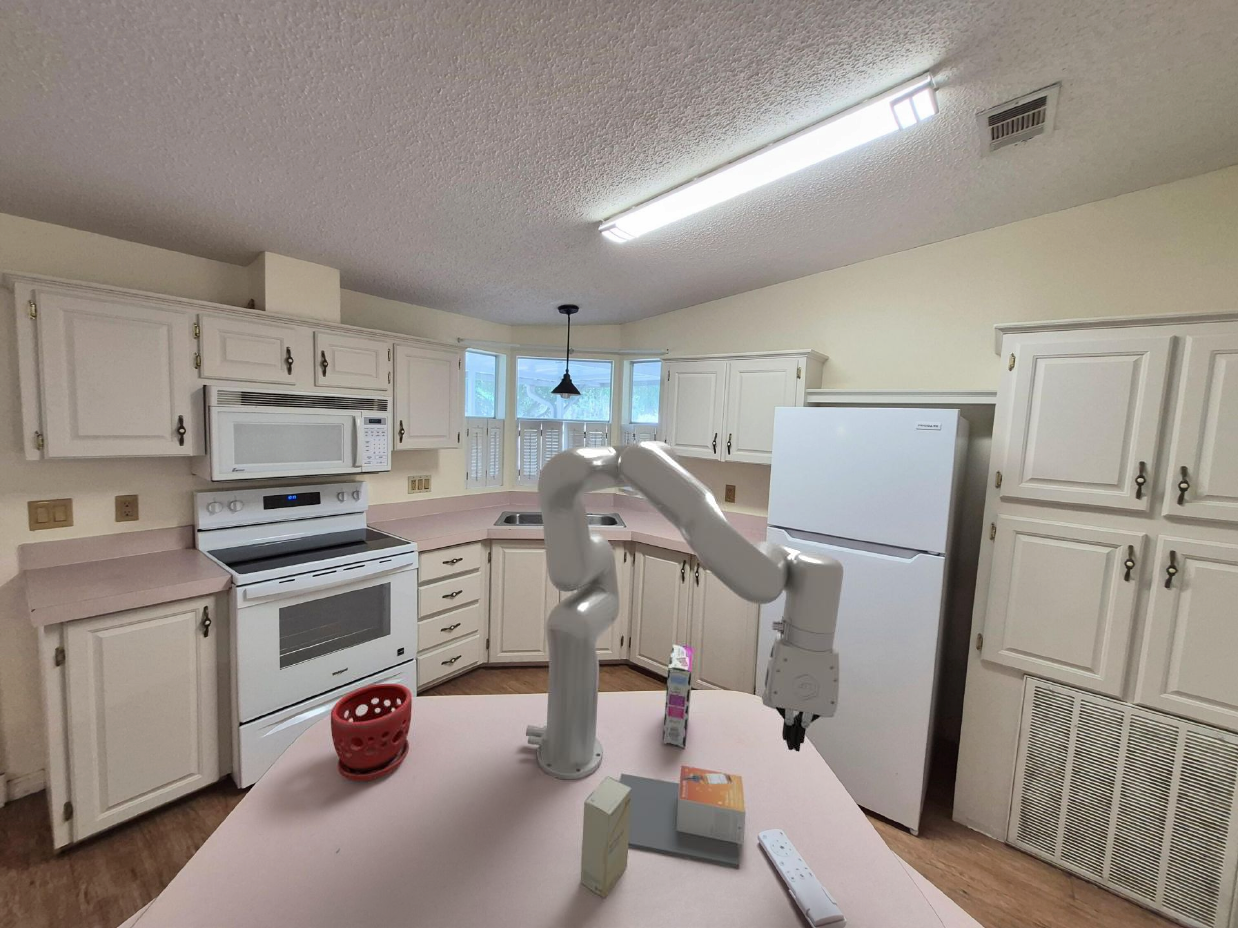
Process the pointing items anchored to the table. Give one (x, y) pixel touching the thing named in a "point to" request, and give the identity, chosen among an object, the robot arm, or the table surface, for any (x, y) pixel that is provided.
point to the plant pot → (371, 731)
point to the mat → (669, 824)
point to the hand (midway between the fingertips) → (792, 744)
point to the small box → (711, 804)
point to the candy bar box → (678, 696)
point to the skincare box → (605, 835)
